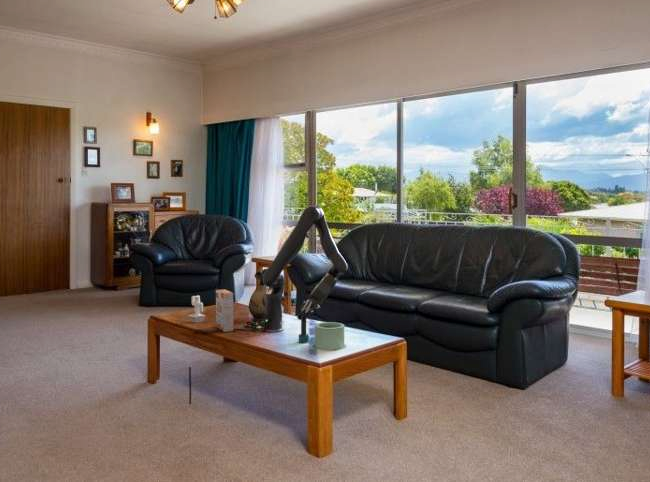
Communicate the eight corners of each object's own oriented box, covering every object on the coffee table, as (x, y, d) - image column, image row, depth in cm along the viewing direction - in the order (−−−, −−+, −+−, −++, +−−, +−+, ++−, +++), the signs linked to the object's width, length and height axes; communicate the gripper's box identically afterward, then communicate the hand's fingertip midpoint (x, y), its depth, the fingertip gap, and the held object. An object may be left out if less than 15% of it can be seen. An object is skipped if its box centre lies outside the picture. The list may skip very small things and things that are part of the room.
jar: (314, 349, 262) (314, 328, 262) (315, 342, 276) (315, 322, 276) (344, 349, 262) (344, 328, 262) (344, 342, 276) (344, 322, 276)
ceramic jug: (262, 322, 322) (263, 270, 322) (243, 319, 330) (243, 269, 331) (281, 318, 335) (281, 268, 336) (262, 315, 344) (262, 266, 344)
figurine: (196, 323, 319) (196, 297, 319) (187, 321, 325) (187, 295, 325) (207, 321, 324) (207, 295, 324) (197, 319, 331) (197, 294, 331)
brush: (298, 342, 275) (298, 311, 275) (299, 339, 280) (299, 309, 280) (308, 342, 275) (308, 311, 275) (308, 339, 280) (309, 309, 280)
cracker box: (215, 327, 309) (215, 289, 309) (225, 326, 312) (226, 289, 312) (222, 332, 297) (222, 293, 297) (233, 331, 299) (233, 292, 300)
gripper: (308, 286, 288) (288, 312, 281) (324, 289, 276) (303, 317, 269) (317, 295, 291) (297, 321, 284) (332, 299, 279) (312, 326, 272)
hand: (300, 319), depth 276 cm, fingers closed on brush, 2 cm apart
